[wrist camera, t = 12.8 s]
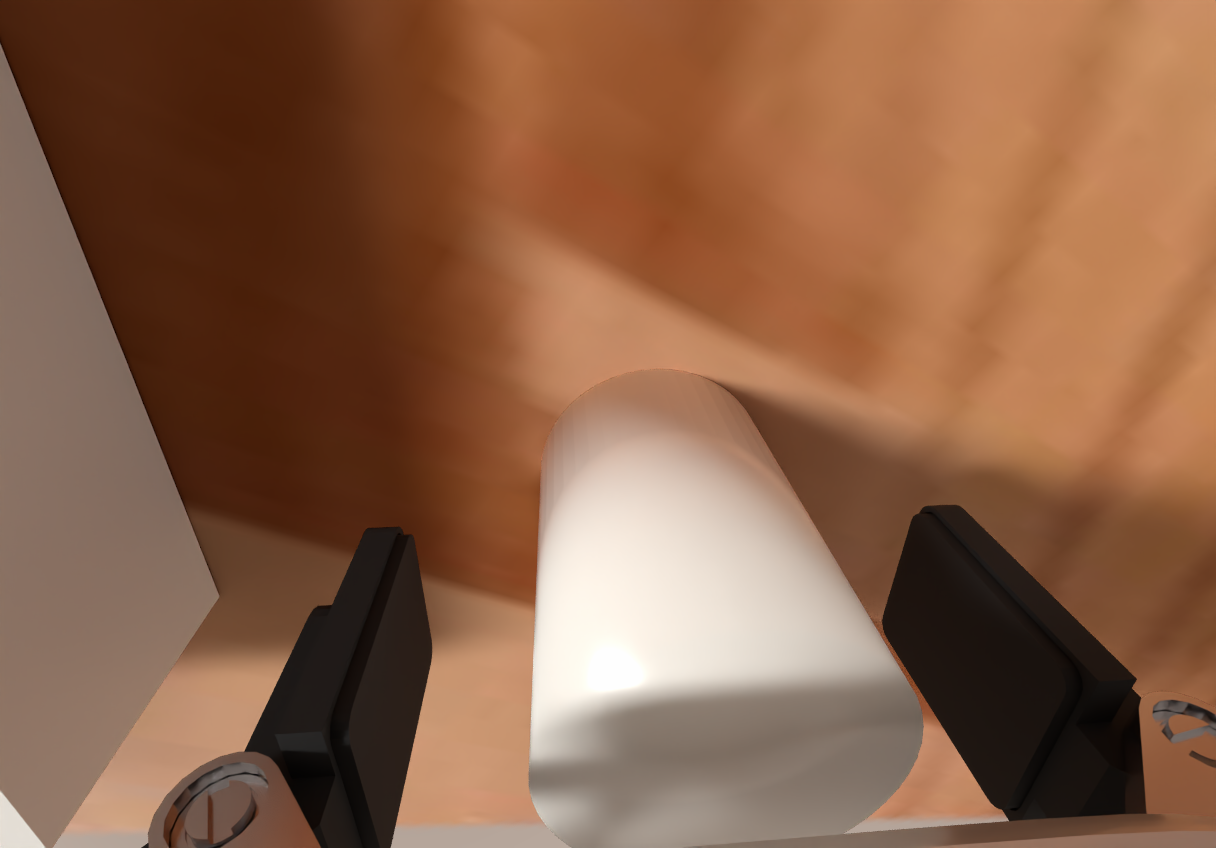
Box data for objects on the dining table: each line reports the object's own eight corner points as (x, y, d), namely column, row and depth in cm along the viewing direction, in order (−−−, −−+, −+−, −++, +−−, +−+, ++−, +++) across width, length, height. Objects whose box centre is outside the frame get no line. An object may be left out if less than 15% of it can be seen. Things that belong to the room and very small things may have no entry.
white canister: (774, 366, 13) (974, 617, 7) (746, 551, 15) (873, 860, 9) (535, 371, 12) (516, 642, 6) (545, 559, 15) (537, 888, 9)
